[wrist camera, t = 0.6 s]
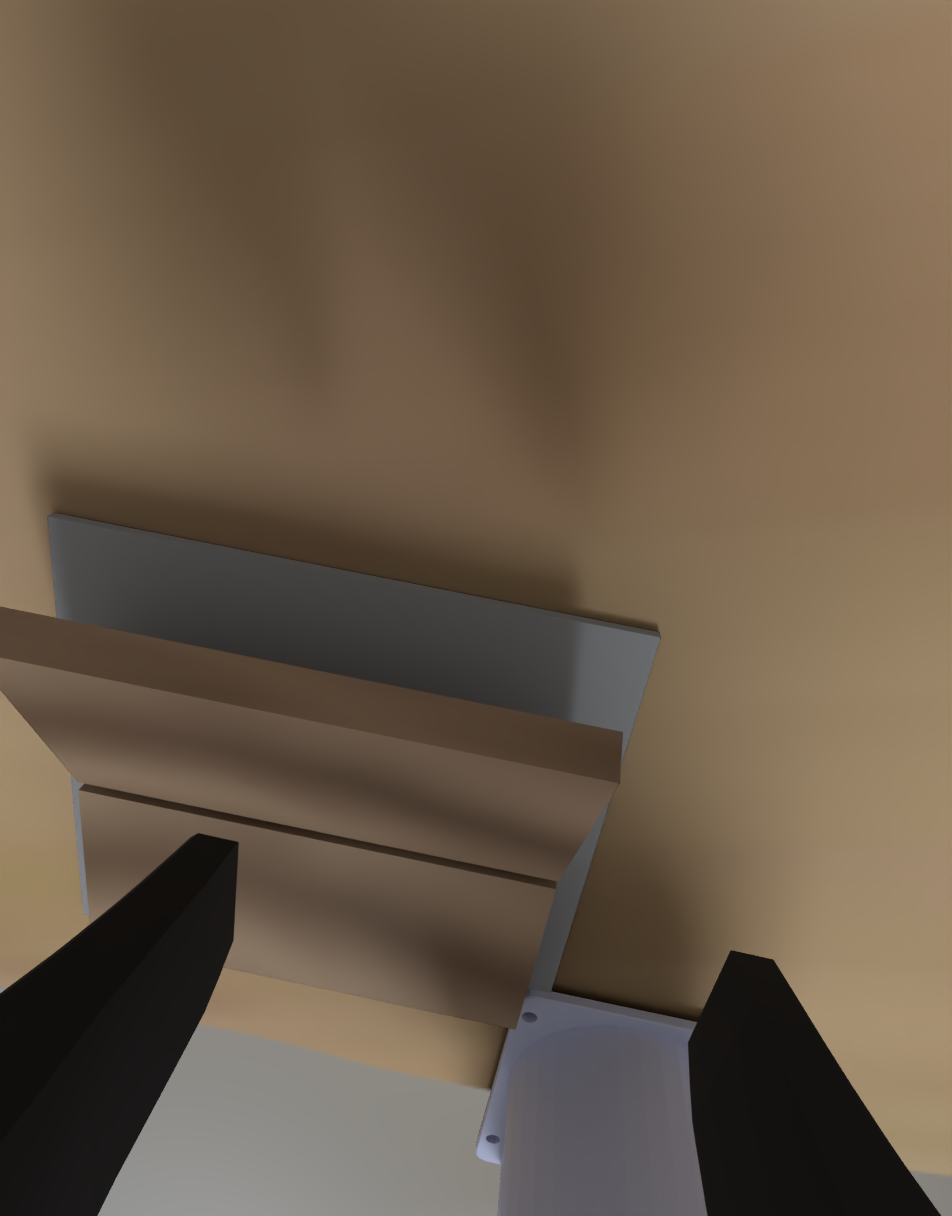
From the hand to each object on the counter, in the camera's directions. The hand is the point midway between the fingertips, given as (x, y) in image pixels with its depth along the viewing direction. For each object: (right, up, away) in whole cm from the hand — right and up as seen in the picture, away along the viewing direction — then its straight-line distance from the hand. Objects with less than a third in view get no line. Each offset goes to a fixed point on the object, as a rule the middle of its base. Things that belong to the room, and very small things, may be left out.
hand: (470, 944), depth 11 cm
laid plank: (-5, -4, +13) cm, 15 cm away
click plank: (-4, +2, +8) cm, 9 cm away
